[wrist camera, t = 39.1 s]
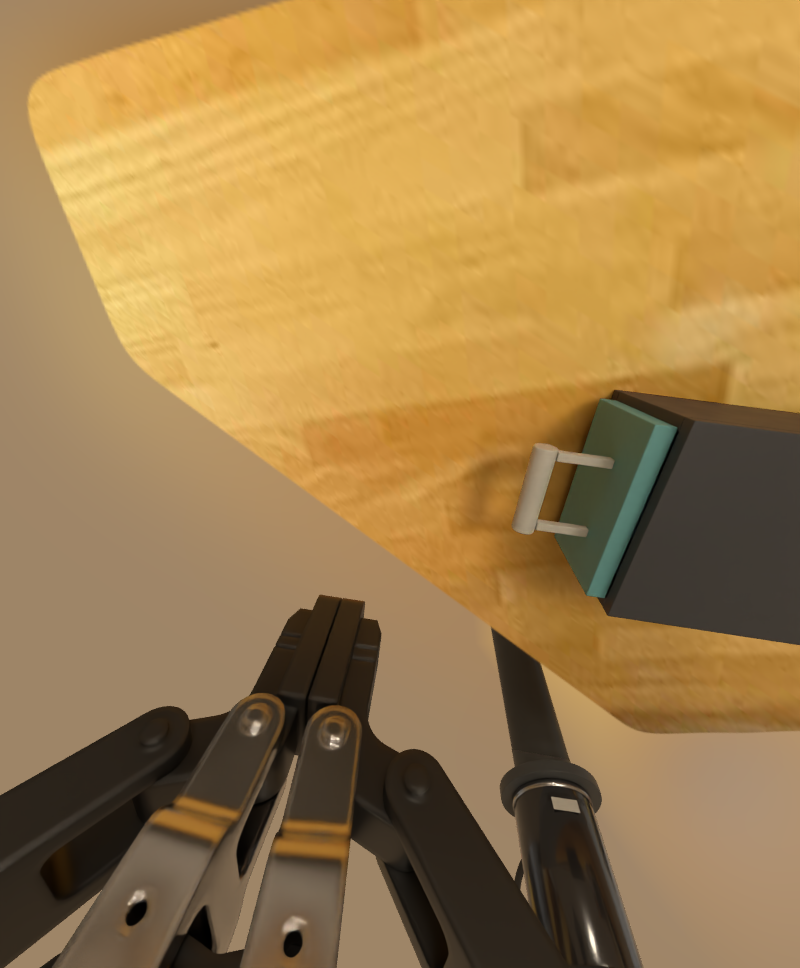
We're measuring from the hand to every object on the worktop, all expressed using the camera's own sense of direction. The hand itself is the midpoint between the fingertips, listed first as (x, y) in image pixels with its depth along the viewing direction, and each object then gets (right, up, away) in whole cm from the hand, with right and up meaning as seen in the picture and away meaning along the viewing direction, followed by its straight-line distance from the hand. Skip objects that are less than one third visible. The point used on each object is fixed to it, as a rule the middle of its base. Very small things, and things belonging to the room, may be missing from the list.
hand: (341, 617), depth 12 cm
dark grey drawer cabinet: (+24, +5, +16) cm, 29 cm away
